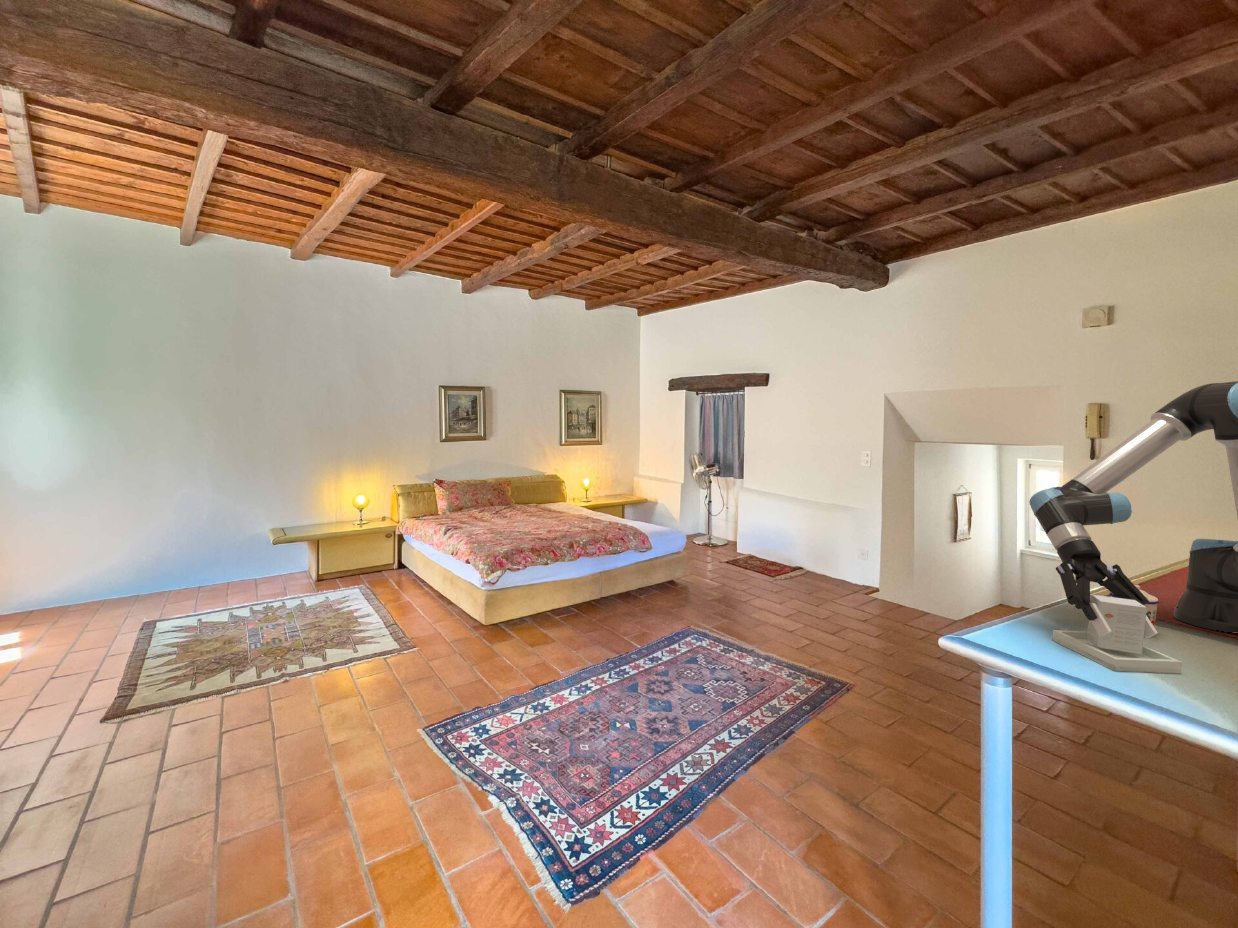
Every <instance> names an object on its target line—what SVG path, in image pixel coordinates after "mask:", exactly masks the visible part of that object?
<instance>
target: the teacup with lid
mask: <svg viewBox="0 0 1238 928" xmlns="http://www.w3.org/2000/svg"><path fill="white" fill-rule="evenodd" d="M1134 585H1135V586H1136V587H1137V588H1138V590H1139V591H1140V592H1141V593H1142V594H1143V595H1144V596H1145V597H1146V598H1147V599H1148V600H1149V603H1147V604H1145V605H1144V606H1145V607H1147V611H1146V613H1147V614H1148V616H1149V617H1150V622H1151V623H1152V625H1153V626H1154V628H1155V629H1156V620H1157V619H1156V618H1157V609H1158V604H1159V603H1160V602H1159V599H1158V598H1157V597H1156V596H1154V595H1152V594H1150V593H1148V592H1147V591H1145V590H1142V589H1141V586H1140V585H1138V584H1134ZM1109 595H1110V597H1115V598H1117V597H1116V596H1115V595H1114V594H1112V593H1111V592H1110V591H1109Z"/></svg>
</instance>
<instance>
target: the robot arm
mask: <svg viewBox="0 0 1238 928" xmlns="http://www.w3.org/2000/svg"><path fill="white" fill-rule="evenodd" d="M1209 430H1213V434H1214V438H1215V439H1214V440H1215V441H1216V442H1218V443H1220V444H1222V445H1224V446H1225V450H1226V455H1227V462H1228V468H1229V473H1230V481H1231V486H1232V491H1233V500H1234V504H1235V511H1236V517H1237V519H1238V380H1236V381H1228V382H1227V381H1226V382H1213V383H1206V384H1203V385H1200V386H1197V387H1194V388H1192V389H1190V390H1188V391H1186V392H1184V393H1182V394H1180V395H1179V396H1177V397H1176V398H1174V399H1172V400H1171V401H1169V402H1168V403H1166V404H1165V405H1163V406H1162V407H1161V408H1159V409H1158V410H1157V411H1155V412H1154V413H1153V414H1151V416H1150V421H1149V422H1147V423H1146V424H1145V425H1143V426H1142V427H1141V428H1139V429H1138V430H1136V431H1135V432H1134V433H1133V434H1131V435H1130V436H1129V437H1127V438H1126V439H1124V440H1123V441H1122V442H1120V443H1119V444H1118V445H1117V446H1115V447H1113V448H1112V449H1110V450H1109V451H1108V452H1107V453H1106V454H1104V455H1102V456H1101V457H1100V458H1099V459H1098V460H1096V461H1095V462H1092V464H1091V465H1089V466H1088V467H1087V468H1085V469H1083V470H1082V471H1081V472H1080V473H1078V474H1077V475H1076V476H1074V477H1073V478H1072V479H1070V480H1069V481H1067V482H1066V483H1064V484H1063V485H1062V486H1053V487H1049V488H1045V489H1041V490H1040V491H1038V492H1035V493H1034V494H1033V495H1032V496H1031V497H1030V498H1029V501H1028V502H1029V506H1030V509H1031V510H1032V512H1033V516H1034V517H1035V518H1036V519H1037V520H1038V522H1039V524H1040V526H1041V528H1042V529H1043V531H1044V532H1045V534H1046V536H1047V538H1048V540H1049V541H1050V543H1051V544H1052V547H1053V548H1054V550H1055V551H1057V552H1056V553H1057V555H1058V557H1059V558H1060V560H1061V563H1060V564H1059V565H1057V566H1056V567H1055V571H1057V573H1058V575H1059V576H1060V579H1061V583H1062V586H1063V590H1064V592H1065V596H1066V600H1067V603H1068V604H1069V605H1071V606H1074V607H1075V609H1077V610H1082V612H1083V614H1084V616H1085V617H1086V619H1087V620H1088V621H1089V620H1090V621H1091V623H1092V624H1093V626H1094V628H1095V630H1096V631H1097V633H1098V635H1099V636H1100V637H1103V636H1105V635H1107V634H1108V633H1110V632H1112V631H1111V629H1110V627H1109V626H1108V624H1107V622H1106V621H1105V619H1104V617H1103V616H1102V614H1101V612H1100V611H1099V609H1098V607H1097V605H1096V604H1095V603H1091V583H1097V584H1098V585H1099V586H1101V587H1104V588H1105V589H1106V590H1108V592H1109V593H1110V592H1111V593H1112V594H1114V595H1115V596H1116V597H1117V598H1122V599H1130V600H1136V601H1137V602H1139V603H1141V604H1142V605H1145V604H1147V603H1149V600H1148V599H1147V598H1146V597H1145V596H1144V595H1143V594H1142V593H1141V592H1140V591H1139V590H1138V588H1137V587H1136V586H1135V585H1136V584H1134V583H1133V582H1132V581H1131V579H1130V578H1128V577H1127V576H1126V574H1125V573H1124V572H1123V570H1122V568H1121V566H1120V565H1118V564H1114V565H1112V566H1111V565H1107V564H1106V563H1105V562H1103V560H1101V558H1102V557H1101V556H1102V554H1101V552H1100V550H1099V547H1097V545H1096V544H1095V542H1094V541H1093V540H1092V537H1091V535H1090V534H1089V533H1088V531H1087V529H1086V528H1085V526H1094V525H1095V526H1097V525H1104V524H1105V525H1108V524H1109V525H1110V524H1111V525H1113V524H1116V523H1117V524H1118V523H1124V522H1126V521H1128V520H1130V518H1131V515H1132V513H1133V510H1132V504H1131V501H1130V500H1129V498H1128V497H1127V496H1126V495H1124V493H1120V492H1109V491H1110V490H1112V489H1113V488H1114V487H1116V486H1117V485H1119V484H1120V483H1121V482H1123V481H1125V480H1126V479H1128V478H1129V477H1130V476H1131V475H1133V474H1134V473H1136V472H1137V471H1138V470H1140V469H1142V468H1143V467H1144V466H1145V465H1147V464H1148V463H1150V462H1151V461H1153V460H1154V459H1155V458H1157V457H1158V456H1159V455H1161V454H1162V453H1163V452H1165V451H1167V450H1168V449H1169V448H1171V447H1172V446H1174V445H1175V444H1176V443H1177V442H1179V441H1181V442H1182V441H1188V440H1190V439H1191V438H1192V437H1194V436H1195V435H1197V434H1200V433H1201V432H1205V431H1209ZM1191 543H1192V544H1191V547H1190V550H1189V556H1188V557H1189V558H1188V559H1189V560H1188V568H1187V578H1186V586H1185V591H1184V593H1183V595H1182V596H1181V598H1180V600H1179V601H1178V603H1177V605H1175V606H1174V610H1173V618H1175V619H1176V620H1178V621H1181V622H1183V623H1186V624H1189V625H1192V626H1195V627H1199V628H1202V629H1207V630H1212V631H1216V630H1219V631H1218V632H1221V631H1224V632H1223V633H1227V632H1238V540H1227V539H1214V538H1213V539H1210V538H1196V539H1194V540H1193V541H1192V542H1191ZM1225 631H1226V632H1225ZM1157 634H1159V633H1158V631H1157V629H1156V627H1155V628H1154V626H1153V625H1152V623H1151V622H1150V617H1149V616H1148V614H1147V613H1146V621H1145V629H1144V639H1150V638H1152V637H1154V636H1155V635H1157Z"/></svg>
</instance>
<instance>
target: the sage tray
mask: <svg viewBox="0 0 1238 928" xmlns="http://www.w3.org/2000/svg"><path fill="white" fill-rule="evenodd" d="M1087 634H1088V630H1086V631H1085V630H1061V629H1059V630H1057V629H1056V630H1055V629H1052V638H1051V641H1053V642H1055V643H1056V644H1059V645H1061V646H1062V647H1065V648H1067V649H1069V650H1071V651H1072V652H1075V653H1076V654H1079V655H1081V656H1083V657H1086V658H1088V659H1089V660H1091V661H1093V662H1095V663H1097V664H1100V665H1101V666H1104V667H1105V668H1107V669H1110V670H1112V671H1113V672H1129V673H1130V672H1131V673H1132V672H1134V673H1153V674H1154V673H1156V674H1182V667H1183V661H1181V660H1178V659H1176V658H1174V657H1171V656H1170V655H1167V654H1164V653H1162V652H1159V651H1158V650H1155V649H1152V648H1150V647H1148V646H1146V645H1143V648H1142V654H1138V653H1131V652H1125V651H1118V650H1112V649H1106V648H1100V647H1096V646H1095V645H1094V644H1093V643H1092V642H1090V641H1089V640H1088V639H1087Z"/></svg>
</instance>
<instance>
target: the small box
mask: <svg viewBox="0 0 1238 928" xmlns="http://www.w3.org/2000/svg"><path fill="white" fill-rule="evenodd" d="M1091 603H1095V604H1096V605H1097V607H1098V609H1099V611H1100V612H1101V614H1102V616H1103V617H1104V619H1105V621H1106V622H1107V624H1108V626H1109V627H1110V629H1111V631H1112V632H1110V633H1108V634H1107V635H1105V636H1103V637H1100V636H1099V635H1098V633H1097V631H1096V630H1095V628H1094V626H1093V624H1092V623H1091V621H1090V620H1088V626H1087V631H1088V634H1087V639H1088V640H1089V641H1090V642H1092V643H1093V644H1094V645H1095V646H1096V647H1100V648H1106V649H1112V650H1118V651H1125V652H1131V653H1138V654H1142V648H1143V646H1144V639H1145V638H1144V629H1145V621H1146V611H1147V607H1145V606H1144V605H1142V604H1141V603H1139V602H1137V601H1136V600H1130V599H1122V598H1115V597H1111V596H1107V595H1105V596H1104V595H1099V594H1097V595H1096V594H1090V604H1091Z"/></svg>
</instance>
